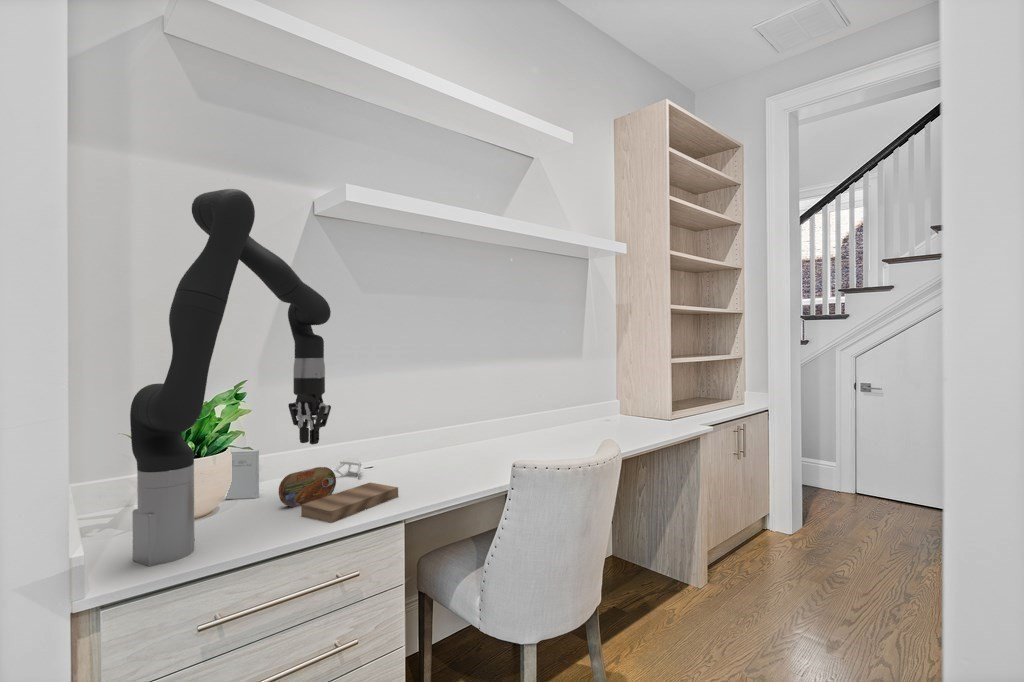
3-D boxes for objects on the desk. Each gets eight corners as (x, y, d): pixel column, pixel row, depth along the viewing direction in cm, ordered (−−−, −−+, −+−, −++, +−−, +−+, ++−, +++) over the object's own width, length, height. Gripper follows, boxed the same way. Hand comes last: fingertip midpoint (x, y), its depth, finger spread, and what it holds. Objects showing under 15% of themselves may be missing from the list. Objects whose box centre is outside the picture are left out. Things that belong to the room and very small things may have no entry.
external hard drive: (227, 497, 140) (227, 450, 140) (259, 496, 141) (259, 449, 141) (224, 499, 138) (224, 451, 138) (257, 498, 139) (256, 451, 139)
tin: (283, 511, 128) (283, 476, 128) (276, 508, 130) (276, 474, 130) (336, 496, 140) (336, 464, 140) (329, 494, 142) (329, 463, 142)
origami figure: (327, 477, 161) (327, 460, 161) (351, 471, 167) (351, 456, 167) (351, 483, 153) (351, 466, 153) (375, 477, 160) (375, 461, 160)
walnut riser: (331, 524, 119) (331, 511, 119) (301, 517, 124) (301, 504, 123) (398, 498, 138) (398, 487, 138) (370, 493, 143) (369, 482, 143)
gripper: (278, 375, 136) (278, 443, 135) (316, 377, 129) (316, 448, 128) (303, 374, 142) (303, 438, 142) (340, 375, 135) (340, 443, 135)
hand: (309, 442), depth 135 cm, fingers open, 3 cm apart
